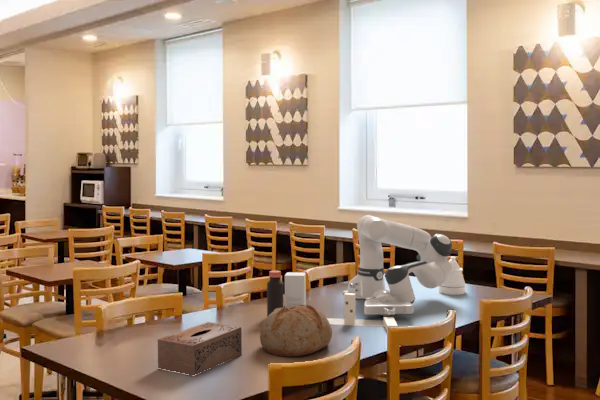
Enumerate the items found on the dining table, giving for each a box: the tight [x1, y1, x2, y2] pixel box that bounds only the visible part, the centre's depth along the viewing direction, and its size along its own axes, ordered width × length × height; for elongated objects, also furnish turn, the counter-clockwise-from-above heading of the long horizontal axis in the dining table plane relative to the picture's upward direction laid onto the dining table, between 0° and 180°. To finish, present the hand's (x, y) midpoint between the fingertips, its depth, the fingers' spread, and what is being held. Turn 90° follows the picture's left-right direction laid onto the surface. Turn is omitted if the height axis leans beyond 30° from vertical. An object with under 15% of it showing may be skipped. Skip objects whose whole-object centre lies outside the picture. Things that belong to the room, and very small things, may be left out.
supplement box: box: [284, 271, 307, 309], centre depth 302 cm, size 9×9×15 cm
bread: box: [259, 304, 333, 357], centre depth 238 cm, size 26×23×15 cm
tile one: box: [382, 316, 399, 332], centre depth 262 cm, size 3×4×12 cm
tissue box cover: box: [157, 321, 243, 375], centre depth 221 cm, size 26×14×10 cm, turn 150°
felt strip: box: [326, 317, 385, 328], centre depth 272 cm, size 36×10×1 cm, turn 80°
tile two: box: [343, 293, 356, 324], centre depth 270 cm, size 3×4×12 cm
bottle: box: [266, 269, 284, 318], centre depth 279 cm, size 7×7×20 cm
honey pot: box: [438, 256, 466, 296], centre depth 334 cm, size 13×13×18 cm
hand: (391, 312), depth 268 cm, fingers closed
